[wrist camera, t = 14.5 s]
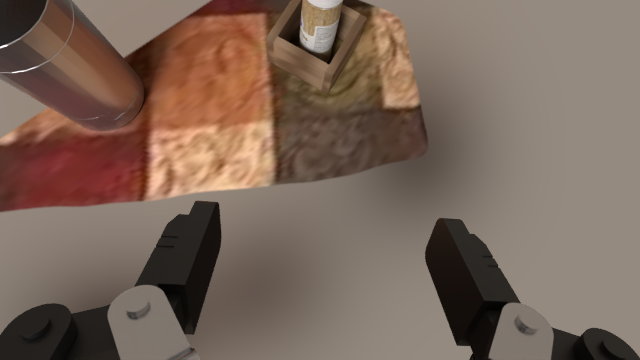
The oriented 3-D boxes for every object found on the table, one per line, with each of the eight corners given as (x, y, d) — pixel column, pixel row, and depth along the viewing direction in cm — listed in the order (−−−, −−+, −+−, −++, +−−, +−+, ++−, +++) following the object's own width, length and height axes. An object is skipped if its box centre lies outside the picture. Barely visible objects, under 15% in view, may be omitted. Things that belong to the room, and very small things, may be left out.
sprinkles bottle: (294, 40, 45) (297, -43, 32) (326, 34, 46) (342, -50, 33) (303, 71, 45) (309, -2, 31) (335, 64, 45) (355, -10, 32)
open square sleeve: (268, 60, 44) (265, 38, 39) (301, 9, 46) (303, -18, 41) (327, 94, 44) (332, 75, 39) (358, 41, 46) (367, 17, 41)
